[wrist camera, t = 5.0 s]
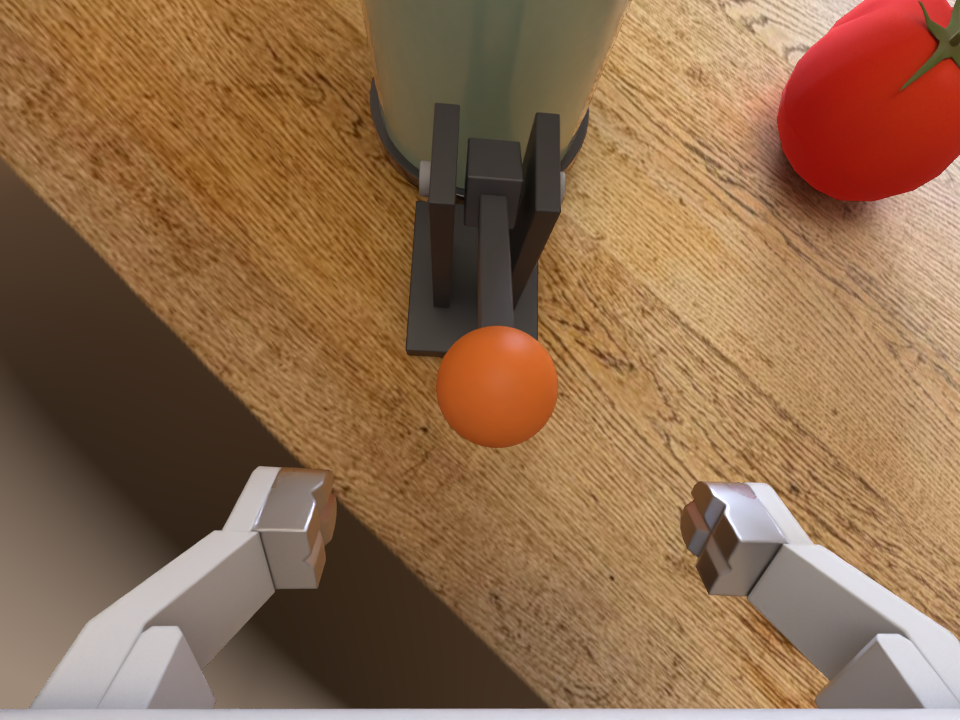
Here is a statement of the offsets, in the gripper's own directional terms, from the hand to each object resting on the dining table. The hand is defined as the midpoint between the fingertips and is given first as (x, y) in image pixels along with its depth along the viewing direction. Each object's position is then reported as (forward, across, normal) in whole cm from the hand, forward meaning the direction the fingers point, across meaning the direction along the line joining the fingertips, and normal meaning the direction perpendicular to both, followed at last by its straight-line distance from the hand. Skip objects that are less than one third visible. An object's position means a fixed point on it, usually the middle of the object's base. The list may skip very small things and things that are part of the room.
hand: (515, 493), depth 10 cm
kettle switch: (+9, 0, 0) cm, 9 cm away
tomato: (+30, -25, -4) cm, 39 cm away
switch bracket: (+21, 0, +4) cm, 21 cm away
